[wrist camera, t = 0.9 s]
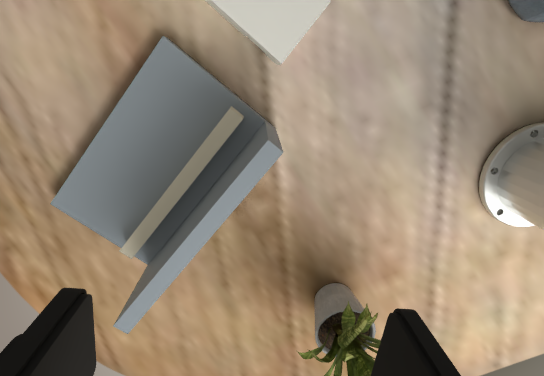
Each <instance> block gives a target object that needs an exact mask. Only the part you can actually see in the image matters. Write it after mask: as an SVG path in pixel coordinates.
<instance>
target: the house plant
mask: <svg viewBox="0 0 544 376" xmlns="http://www.w3.org/2000/svg"><path fill="white" fill-rule="evenodd" d="M377 315H378V313H377V314H376V315H375V316H374V317H373V318H371V313H370V312H369V309H368V306H367V304H366V308H365V309H364V308H363V306H362V305H361V304H360V302H359V301H358V300H357V298H356V297H355V295H354V294H353V293H352V291H351V290H350V289H349V288H348V287H347V286H345V285H343V284H340V283H332V284H328V285H326V286H324V287H322V288H321V289H320V290H319V291H318V292H317V294H316V296H315V339H316V343H317V345H318V347H319V348H317V349H314V350H312V351H310V350H309V352H306V353H299V352H298V351H297V352H298V353H299V354H300V355H301V357H302V358H303V359H311V358H313V357H315V358H316V359H317V360H318V361H320V362H328V363H329V362H331V361H332V360H333V359H334V358H335V357H336V358H335V360H334V362H333V364H332V366H331V368H330V369H329V371H328V372H327V373H326V374H325V375H324V376H330V375H331V372H332V370H333V368H334V366H335V364H336V367H335V371H334V376H341V373H342V360H343V361H344V362H345V361H346V362H347V371H348V376H371V372H372V369H373V366H374V362H375V361H374V360H373V359H376V358H373V357H371V356H370V355H368V354H367V353H366V352H365V350H366V349H367V348H368V349H370V350H371V351H373V352H375V353H377V352H378V351H376V350H374V349H373V348H371V347H369V346H372V347H375V348H379V346H380V342H381V340H378V339H374V337H375V333H376V330H375V324H374V321H375V320H376V318H377ZM372 342H373V343H372ZM375 343H377V344H375ZM321 351H323V352H324V353H326V356H325V357H324V358H322V359H319V358H318V357H317V356H316V355H318V354H319V353H320V352H321ZM372 358H373V359H372Z"/></svg>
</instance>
